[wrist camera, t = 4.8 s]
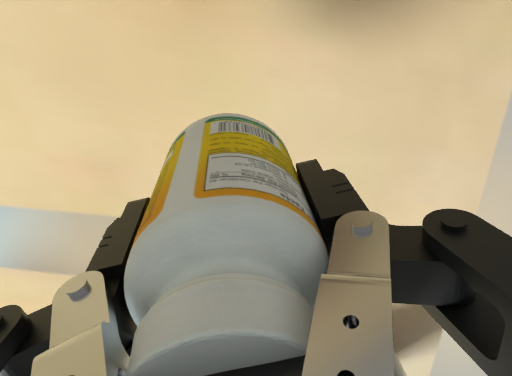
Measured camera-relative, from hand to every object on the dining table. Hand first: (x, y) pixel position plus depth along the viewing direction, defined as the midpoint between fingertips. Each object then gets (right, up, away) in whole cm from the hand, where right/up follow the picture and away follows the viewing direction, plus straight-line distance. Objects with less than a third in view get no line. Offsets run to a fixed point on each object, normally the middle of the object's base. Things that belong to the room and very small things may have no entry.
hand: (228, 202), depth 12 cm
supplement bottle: (0, +1, +2) cm, 3 cm away
